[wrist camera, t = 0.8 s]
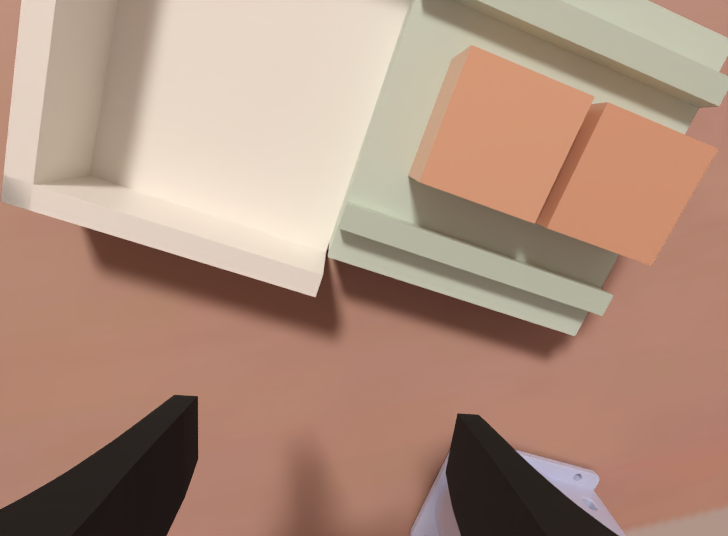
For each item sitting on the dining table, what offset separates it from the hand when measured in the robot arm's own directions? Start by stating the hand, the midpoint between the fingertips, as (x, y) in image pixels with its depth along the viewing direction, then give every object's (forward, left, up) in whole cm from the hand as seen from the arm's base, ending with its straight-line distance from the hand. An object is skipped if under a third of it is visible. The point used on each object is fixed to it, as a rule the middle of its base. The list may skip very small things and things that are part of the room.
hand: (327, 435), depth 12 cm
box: (+7, -9, -10) cm, 16 cm away
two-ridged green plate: (-5, -9, -10) cm, 15 cm away
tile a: (-8, -9, -7) cm, 14 cm away
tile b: (-3, -9, -7) cm, 12 cm away
